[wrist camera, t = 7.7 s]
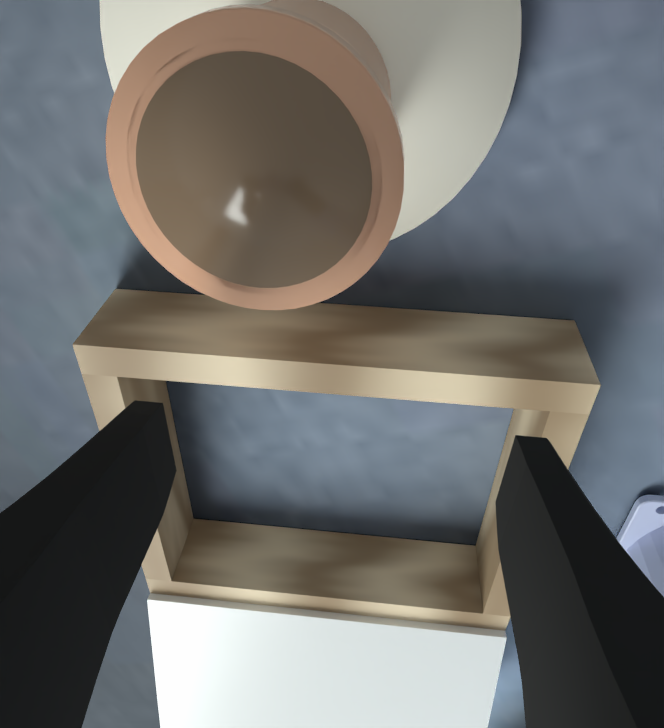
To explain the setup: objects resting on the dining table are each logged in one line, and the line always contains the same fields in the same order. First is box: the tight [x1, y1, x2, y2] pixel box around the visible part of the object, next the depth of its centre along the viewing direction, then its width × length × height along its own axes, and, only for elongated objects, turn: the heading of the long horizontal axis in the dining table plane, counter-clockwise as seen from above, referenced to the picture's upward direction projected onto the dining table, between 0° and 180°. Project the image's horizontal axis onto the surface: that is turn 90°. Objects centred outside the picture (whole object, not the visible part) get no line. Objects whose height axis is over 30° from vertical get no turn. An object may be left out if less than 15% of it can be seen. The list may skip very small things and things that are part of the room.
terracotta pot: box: [106, 0, 404, 310], centre depth 14 cm, size 6×6×6 cm
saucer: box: [100, 0, 521, 241], centre depth 16 cm, size 11×11×1 cm
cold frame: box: [73, 289, 601, 728], centre depth 27 cm, size 16×28×8 cm, turn 179°
